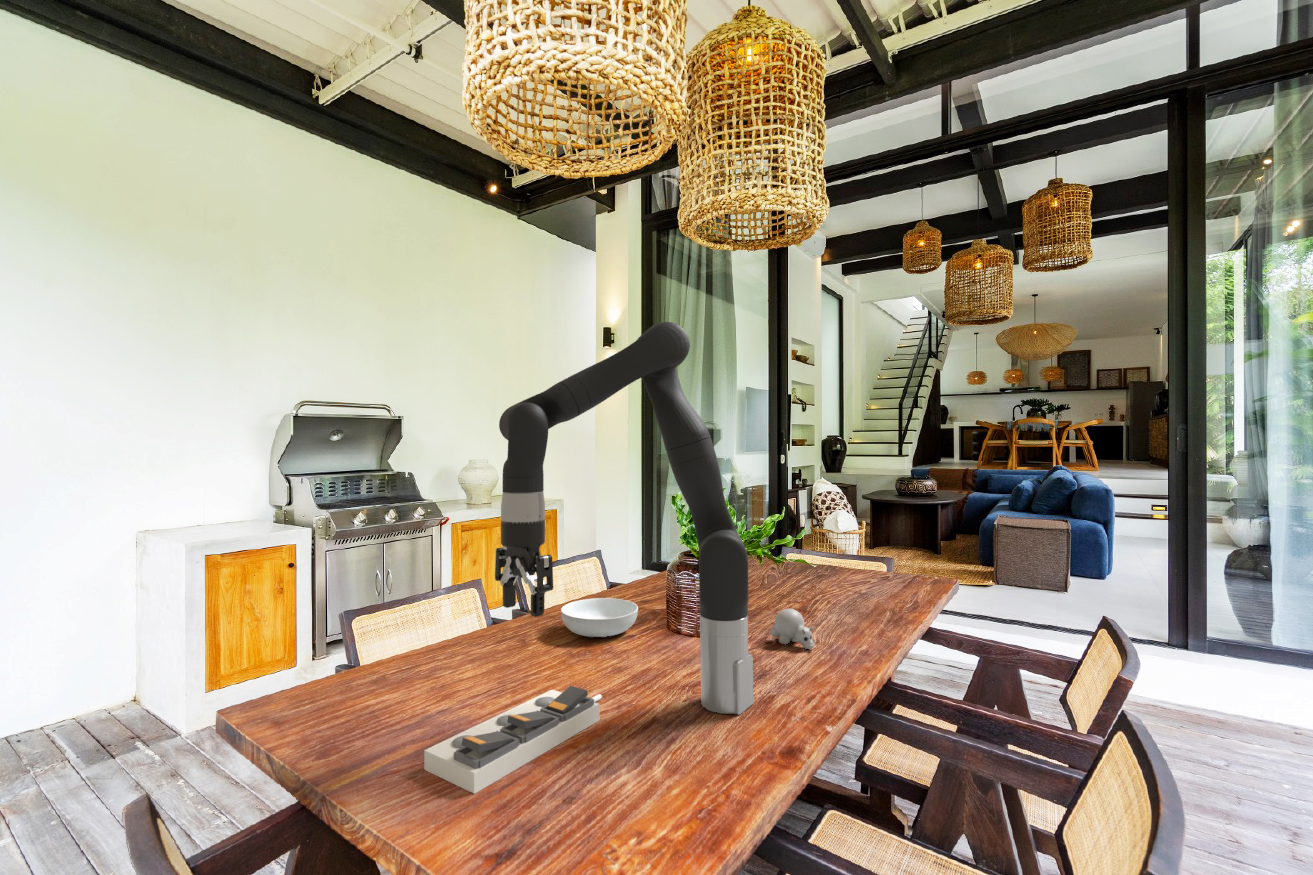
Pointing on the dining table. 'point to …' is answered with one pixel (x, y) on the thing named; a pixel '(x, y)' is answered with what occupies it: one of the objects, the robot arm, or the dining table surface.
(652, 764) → the dining table surface
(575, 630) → the serving bowl
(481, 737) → the rocker far end
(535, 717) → the middle rocker
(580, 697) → the rocker near cord
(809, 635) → the chubby cartoon animal
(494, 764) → the power strip
